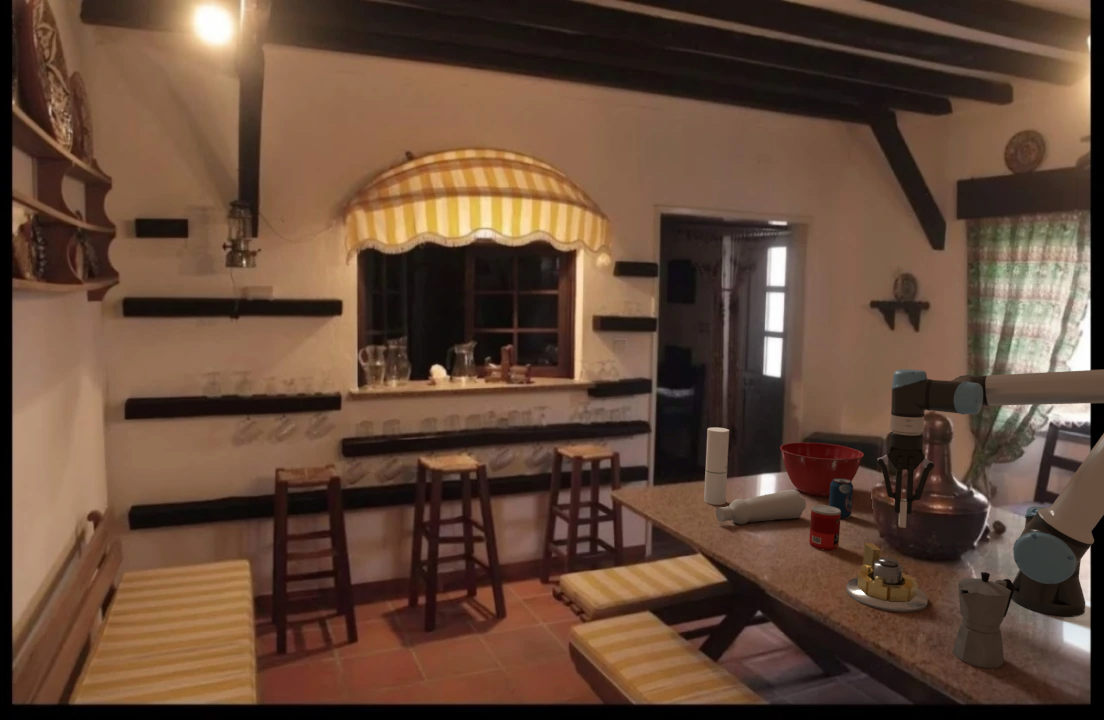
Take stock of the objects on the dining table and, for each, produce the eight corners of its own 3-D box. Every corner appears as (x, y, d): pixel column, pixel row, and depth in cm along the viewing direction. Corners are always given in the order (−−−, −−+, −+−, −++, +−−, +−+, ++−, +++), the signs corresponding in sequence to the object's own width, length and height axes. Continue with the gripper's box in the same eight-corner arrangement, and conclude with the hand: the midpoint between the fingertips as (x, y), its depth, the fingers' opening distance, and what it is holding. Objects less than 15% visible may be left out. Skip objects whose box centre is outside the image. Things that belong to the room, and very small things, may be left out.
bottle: (785, 501, 252) (708, 512, 241) (796, 482, 247) (718, 493, 235) (800, 522, 246) (721, 535, 235) (812, 504, 240) (732, 516, 229)
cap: (942, 601, 183) (945, 565, 182) (899, 618, 173) (902, 580, 172) (873, 576, 198) (876, 542, 197) (831, 590, 188) (833, 555, 187)
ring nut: (890, 572, 197) (892, 543, 196) (924, 601, 179) (927, 569, 179) (842, 572, 196) (844, 542, 195) (872, 600, 179) (875, 568, 178)
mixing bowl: (765, 481, 289) (767, 441, 288) (837, 480, 293) (840, 441, 291) (797, 503, 262) (800, 459, 260) (876, 502, 265) (879, 459, 263)
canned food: (840, 552, 215) (843, 514, 214) (810, 549, 217) (813, 511, 216) (836, 542, 223) (838, 506, 221) (807, 540, 224) (809, 503, 223)
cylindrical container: (728, 501, 262) (732, 429, 259) (721, 506, 256) (724, 432, 253) (708, 497, 266) (712, 426, 263) (700, 502, 260) (704, 429, 257)
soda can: (850, 520, 244) (853, 483, 243) (827, 517, 246) (830, 481, 245) (851, 514, 250) (853, 478, 249) (828, 511, 253) (831, 476, 252)
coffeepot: (976, 674, 149) (984, 586, 147) (934, 652, 158) (942, 568, 156) (1028, 660, 155) (1037, 575, 153) (986, 639, 164) (993, 558, 162)
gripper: (878, 433, 187) (874, 527, 189) (938, 436, 182) (932, 533, 185) (877, 427, 194) (873, 518, 196) (934, 431, 189) (929, 524, 192)
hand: (902, 525), depth 190 cm, fingers closed
